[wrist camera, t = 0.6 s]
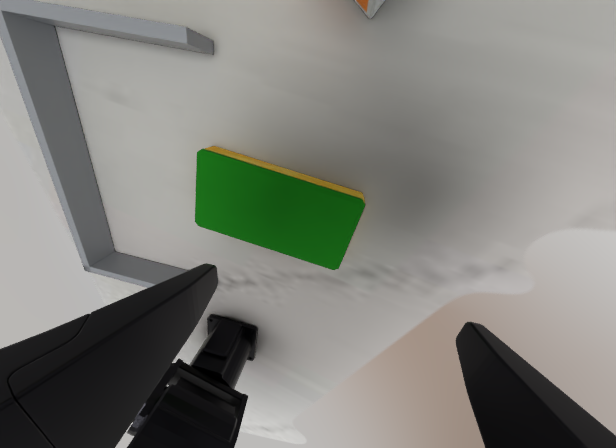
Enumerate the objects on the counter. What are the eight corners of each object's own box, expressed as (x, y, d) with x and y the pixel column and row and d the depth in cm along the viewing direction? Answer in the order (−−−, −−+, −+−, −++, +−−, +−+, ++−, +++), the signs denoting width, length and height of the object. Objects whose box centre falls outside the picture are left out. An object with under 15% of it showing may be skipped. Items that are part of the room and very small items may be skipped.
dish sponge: (338, 257, 23) (337, 272, 21) (208, 214, 23) (194, 225, 21) (365, 192, 19) (367, 202, 17) (213, 144, 20) (196, 148, 18)
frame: (217, 283, 27) (202, 302, 24) (110, 255, 28) (84, 270, 25) (213, 40, 16) (186, 26, 13) (41, 10, 17) (-16, -9, 15)
